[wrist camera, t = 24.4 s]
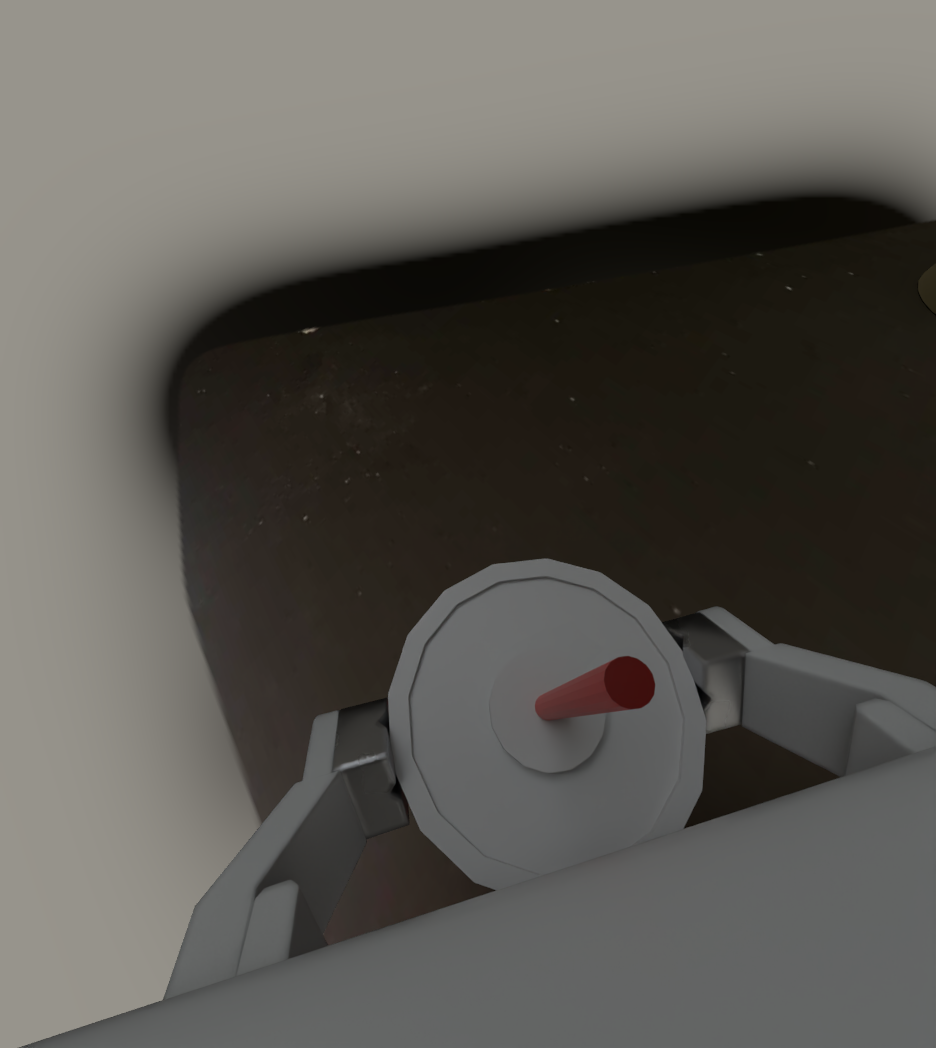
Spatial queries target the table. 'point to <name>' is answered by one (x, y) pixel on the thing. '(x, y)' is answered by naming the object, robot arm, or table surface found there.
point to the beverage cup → (543, 722)
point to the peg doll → (928, 288)
